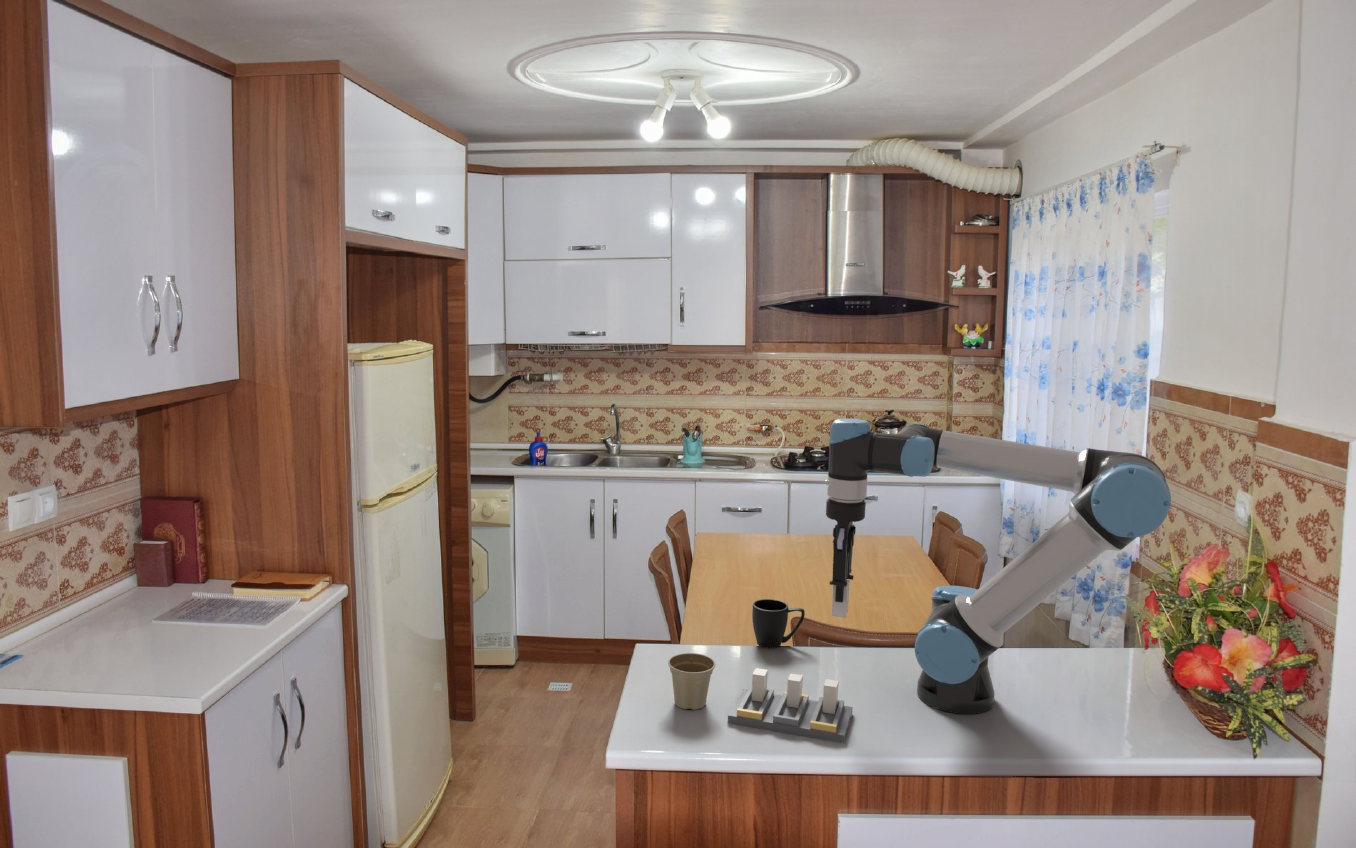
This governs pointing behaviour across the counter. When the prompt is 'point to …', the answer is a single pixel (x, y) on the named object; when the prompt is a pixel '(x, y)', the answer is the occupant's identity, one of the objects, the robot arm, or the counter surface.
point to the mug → (772, 622)
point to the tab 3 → (830, 696)
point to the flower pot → (691, 679)
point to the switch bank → (791, 716)
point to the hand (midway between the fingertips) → (839, 613)
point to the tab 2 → (794, 690)
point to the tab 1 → (759, 685)
